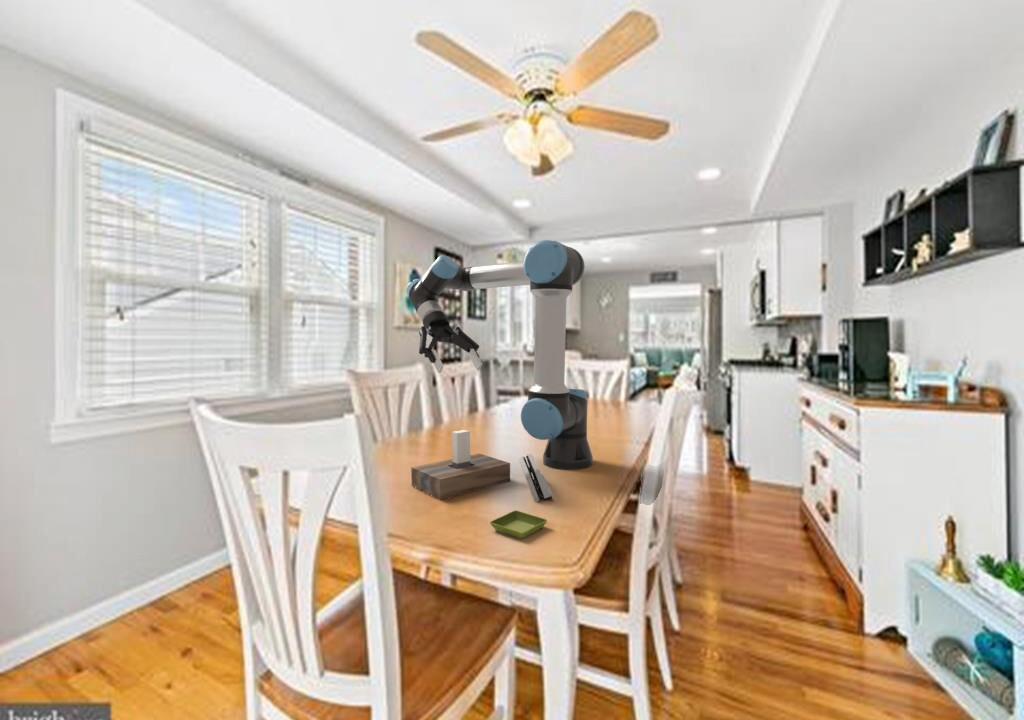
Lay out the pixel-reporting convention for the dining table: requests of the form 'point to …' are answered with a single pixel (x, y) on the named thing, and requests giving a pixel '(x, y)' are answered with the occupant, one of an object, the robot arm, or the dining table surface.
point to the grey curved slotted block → (535, 479)
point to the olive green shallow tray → (518, 524)
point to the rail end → (460, 449)
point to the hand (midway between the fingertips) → (461, 368)
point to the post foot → (460, 476)
